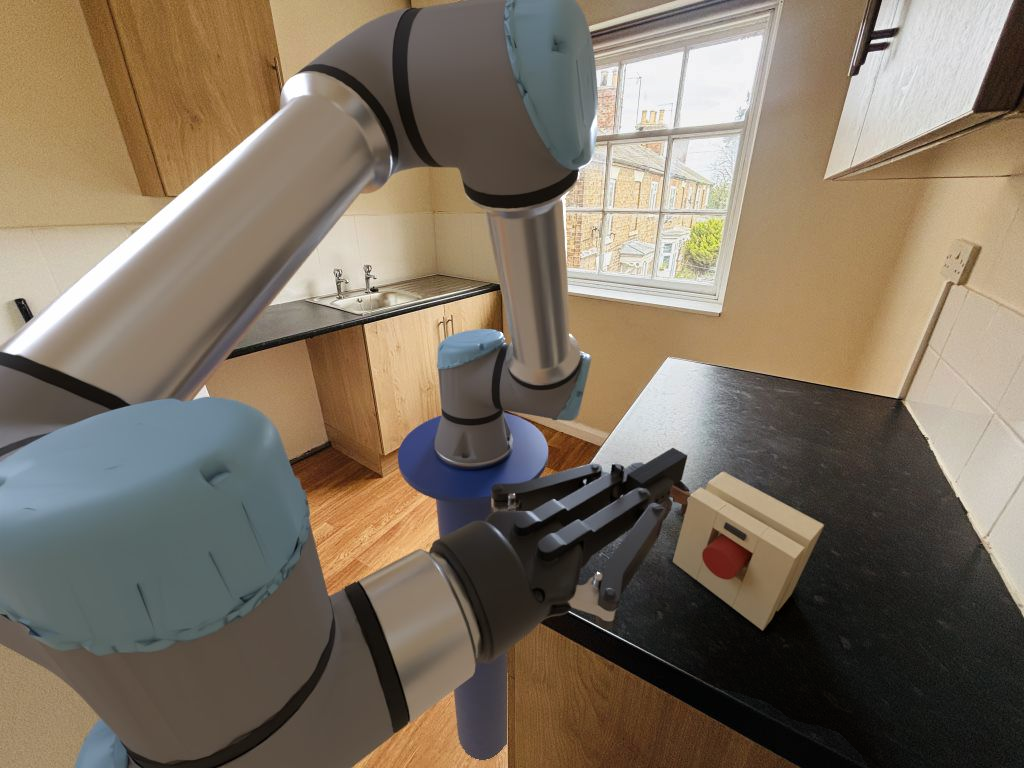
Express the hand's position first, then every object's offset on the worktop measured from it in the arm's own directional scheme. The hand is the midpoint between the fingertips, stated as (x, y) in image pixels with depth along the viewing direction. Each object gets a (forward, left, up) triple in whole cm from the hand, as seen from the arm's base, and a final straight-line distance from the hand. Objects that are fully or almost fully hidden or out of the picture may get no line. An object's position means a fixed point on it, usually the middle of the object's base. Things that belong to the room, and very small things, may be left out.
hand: (677, 463), depth 37 cm
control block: (+3, +15, -24) cm, 28 cm away
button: (+3, +11, -19) cm, 22 cm away
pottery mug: (-10, +17, -24) cm, 31 cm away
